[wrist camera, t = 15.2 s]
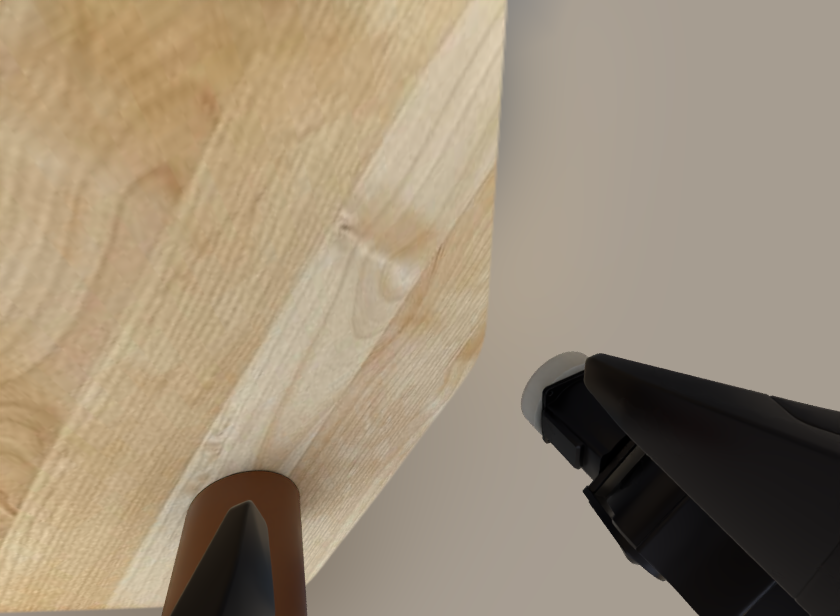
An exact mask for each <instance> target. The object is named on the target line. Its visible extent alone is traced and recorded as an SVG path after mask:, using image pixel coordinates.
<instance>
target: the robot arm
mask: <svg viewBox="0 0 840 616" xmlns="http://www.w3.org/2000/svg"><path fill="white" fill-rule="evenodd" d="M542 439H543V440H544V442H545V443H552V444H553V445H554V446H555V448H556V449H557V450H558V451H559V452H560V453H561V454H562V455H563V456H564V457H565V458H566V459H567V460H568V461H569V463H570V464H571V465H572V466H573V467H574V468H576V469H580V468H582V469H583V470H584V471H585V472H586V473H587V474H588V475H589V476H590V477H591V479H593V481H592V483H591V484H590V485H589V486H586V487H585V488H584V490H583V493H584V494H585V496H586V497H587V498H588V500H589V503H590V505H591V506H592V508H593V509H594V510H595V512H596V513H597V515H598V516H599V517H600V519H601V520H602V522H603V523H604V524H605V526H606V527H607V529H608V530H609V531H610V533H611V534H612V535H613V537H614V538H615V540H616V541H617V542H618V544H619V545H620V547H621V549H622V551H623V553H624V554H625V556H626V557H627V559H628V560H629V561H630V562H632V563H633V564H638V565H641V566H642V567H643V568H644V569H645V570H647V571H648V572H649V573H650V574H652V575H653V576H654V577H656V578H658V579H660V580H662V581H665V580H667V581H668V582H669V583H670V584H671V585H672V586H673V587H674V588H675V589H676V591H677V592H678V593H679V594H680V595H681V596H682V597H683V598H684V599H685V601H686V602H687V603H688V604H689V605H690V606H691V607H692V608H693V610H695V612H696V613H697V614H698V615H699V616H840V412H839V411H834V410H830V409H825V408H821V407H817V406H813V405H808V404H804V403H800V402H796V401H792V400H787V399H784V398H780V397H776V396H769V395H767V394H763V393H759V392H755V391H751V390H747V389H743V388H739V387H735V386H731V385H727V384H723V383H719V382H715V381H711V380H707V379H702V378H699V377H695V376H691V375H687V374H683V373H678V372H675V371H671V370H667V369H663V368H659V367H654V366H651V365H647V364H642V363H639V362H634V361H631V360H626V359H623V358H618V357H615V356H610V355H606V354H602V353H599V354H596V355H593V356H591V357H589V358H587V360H586V362H585V370H582V371H580V372H578V373H576V374H573V375H571V376H569V377H567V378H564V379H562V380H560V381H558V382H555V383H553V384H551V385H549V386H547V387H545V388H544V389H543V391H542ZM170 616H275V602H274V590H273V579H272V569H271V558H270V547H269V537H268V528H267V524H266V522H265V520H264V518H263V517H262V515H261V514H260V512H259V510H258V509H257V507H256V506H255V504H254V503H253V502H252V501H251V500H248V501H245V502H242V503H240V504H238V505H235V506H233V507H231V508H230V509H229V510H228V512H227V513H226V515H225V517H224V519H223V521H222V522H221V524H220V526H219V528H218V530H217V531H216V533H215V535H214V537H213V539H212V540H211V542H210V544H209V546H208V547H207V549H206V551H205V553H204V555H203V556H202V558H201V560H200V562H199V564H198V565H197V567H196V569H195V571H194V573H193V574H192V576H191V578H190V580H189V582H188V583H187V585H186V587H185V589H184V591H183V592H182V594H181V596H180V598H179V599H178V601H177V603H176V605H175V607H174V608H173V610H172V612H171V614H170Z"/></svg>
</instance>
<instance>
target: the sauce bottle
mask: <svg viewBox="0 0 840 616" xmlns="http://www.w3.org/2000/svg"><path fill="white" fill-rule="evenodd" d="M248 500H251V501H252V502H253V503H254V504H255V506H256V507H257V509H258V510H259V512H260V514H261V515H262V517H263V518H264V520H265V522H266V524H267V528H268V537H269V547H270V558H271V569H272V579H273V590H274V602H275V616H307V604H306V590H305V573H304V557H303V542H302V526H301V510H300V496H299V491H298V489H297V487H296V486H295V484H294V483H293V482H292V481H291V480H289V479H288V478H286V477H284V476H282V475H280V474H277V473H273V472H267V471H250V472H243V473H238V474H234V475H231V476H228V477H225V478H223V479H221V480H219V481H216V482H215V483H213V484H211V485H210V486H208V487H207V488H205V489H204V490H203V491H202V492H201V493H199V494H198V495H197V497H196V498H195V499H194V500H193V502H192V503H191V505H190V506H189V509H188V511H187V515H186V519H185V523H184V527H183V531H182V535H181V539H180V543H179V547H178V551H177V555H176V559H175V563H174V567H173V571H172V576H171V580H170V584H169V588H168V592H167V596H166V600H165V604H164V608H163V612H162V616H170V614H171V612H172V610H173V608H174V607H175V605H176V603H177V601H178V599H179V598H180V596H181V594H182V592H183V591H184V589H185V587H186V585H187V583H188V582H189V580H190V578H191V576H192V574H193V573H194V571H195V569H196V567H197V565H198V564H199V562H200V560H201V558H202V556H203V555H204V553H205V551H206V549H207V547H208V546H209V544H210V542H211V540H212V539H213V537H214V535H215V533H216V531H217V530H218V528H219V526H220V524H221V522H222V521H223V519H224V517H225V515H226V513H227V512H228V510H229V509H230V508H231V507H233V506H235V505H238V504H240V503H242V502H245V501H248Z"/></svg>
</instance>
